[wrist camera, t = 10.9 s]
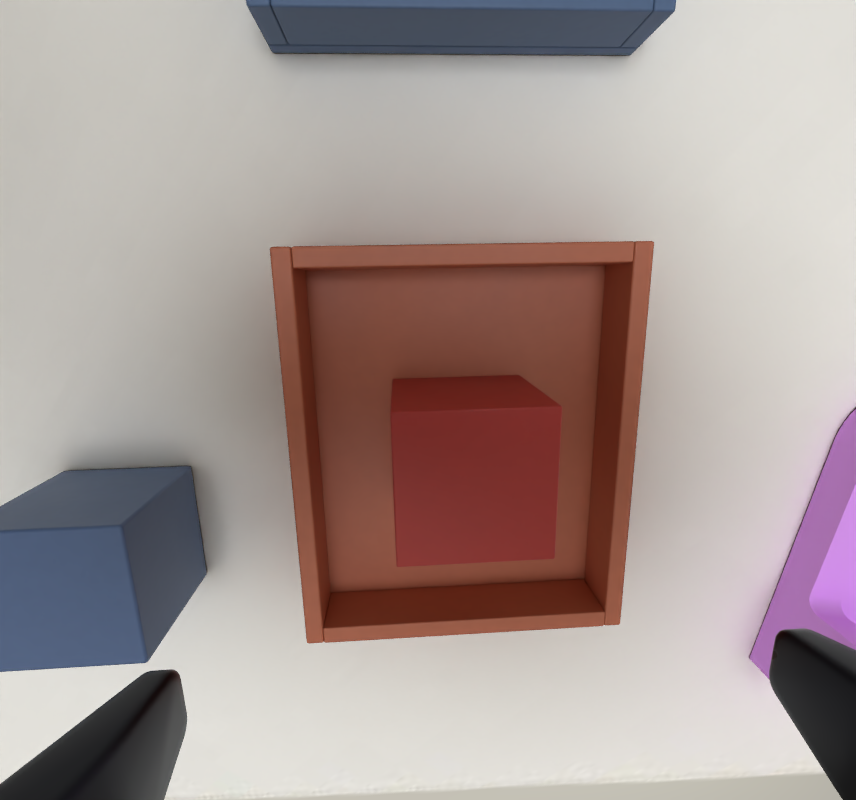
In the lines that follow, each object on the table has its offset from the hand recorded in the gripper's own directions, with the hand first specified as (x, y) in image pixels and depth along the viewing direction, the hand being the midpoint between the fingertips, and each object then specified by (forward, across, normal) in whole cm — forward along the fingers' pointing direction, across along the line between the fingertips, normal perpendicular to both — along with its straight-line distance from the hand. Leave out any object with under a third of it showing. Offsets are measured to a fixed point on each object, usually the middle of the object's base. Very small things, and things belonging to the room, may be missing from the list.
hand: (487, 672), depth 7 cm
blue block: (+11, +11, +3) cm, 16 cm away
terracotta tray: (+11, -1, 0) cm, 11 cm away
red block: (+10, -1, 0) cm, 10 cm away
